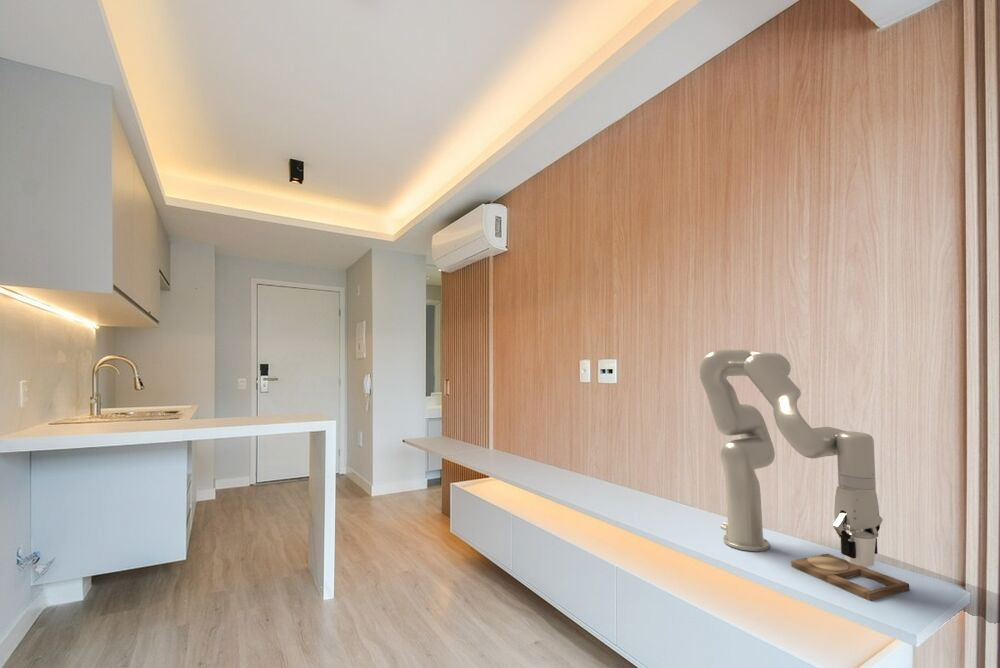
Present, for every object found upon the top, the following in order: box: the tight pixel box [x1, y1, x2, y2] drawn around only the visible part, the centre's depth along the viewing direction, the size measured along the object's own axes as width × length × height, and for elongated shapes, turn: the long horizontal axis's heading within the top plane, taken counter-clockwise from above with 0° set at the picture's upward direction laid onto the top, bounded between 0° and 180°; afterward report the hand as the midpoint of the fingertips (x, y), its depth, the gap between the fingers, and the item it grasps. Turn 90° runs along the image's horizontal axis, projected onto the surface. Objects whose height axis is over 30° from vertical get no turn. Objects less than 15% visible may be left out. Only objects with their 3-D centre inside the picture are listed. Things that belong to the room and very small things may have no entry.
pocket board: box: [790, 553, 911, 601], centre depth 121 cm, size 20×14×2 cm
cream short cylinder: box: [844, 530, 877, 568], centre depth 118 cm, size 7×7×7 cm
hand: (859, 553), depth 118 cm, fingers closed on cream short cylinder, 6 cm apart
